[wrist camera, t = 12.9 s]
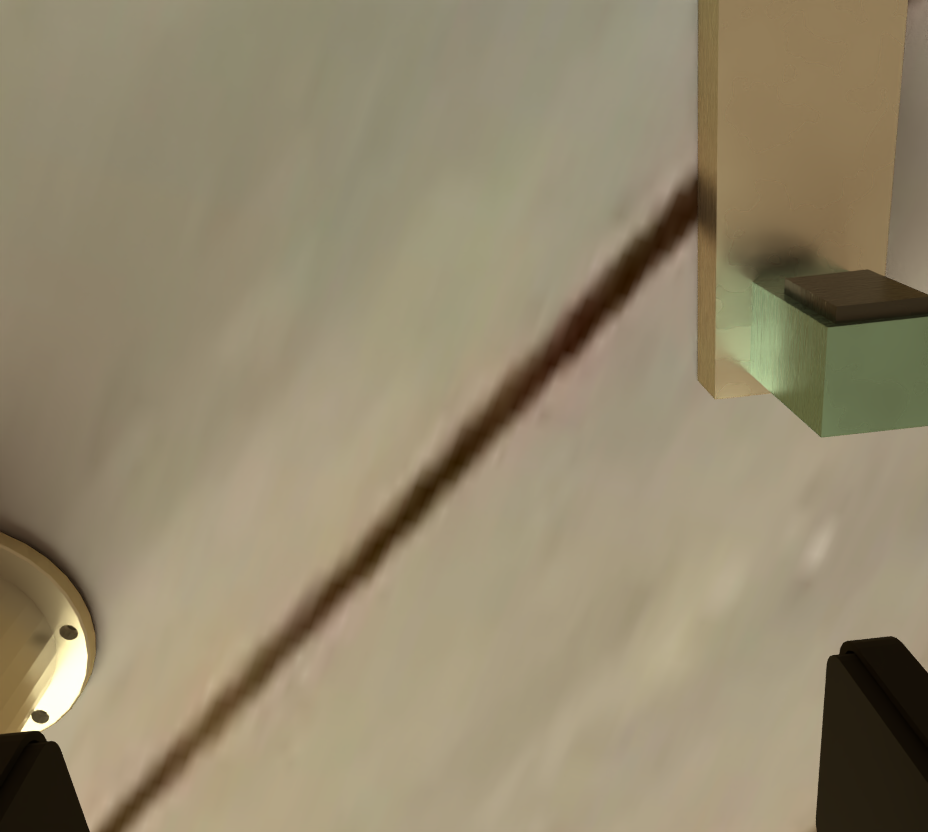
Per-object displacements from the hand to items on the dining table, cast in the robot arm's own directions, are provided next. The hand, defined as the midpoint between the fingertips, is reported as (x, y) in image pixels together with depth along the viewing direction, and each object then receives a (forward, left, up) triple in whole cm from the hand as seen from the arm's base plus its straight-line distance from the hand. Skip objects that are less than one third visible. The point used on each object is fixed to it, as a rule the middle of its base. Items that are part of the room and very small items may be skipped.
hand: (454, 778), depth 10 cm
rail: (+15, +7, -28) cm, 33 cm away
